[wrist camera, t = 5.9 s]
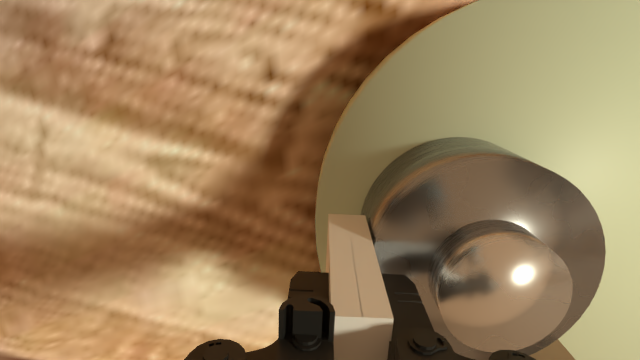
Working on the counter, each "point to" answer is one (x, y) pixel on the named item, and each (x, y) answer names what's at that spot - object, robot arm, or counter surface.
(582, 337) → the turntable
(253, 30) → the counter surface
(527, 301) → the cover
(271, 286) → the counter surface
